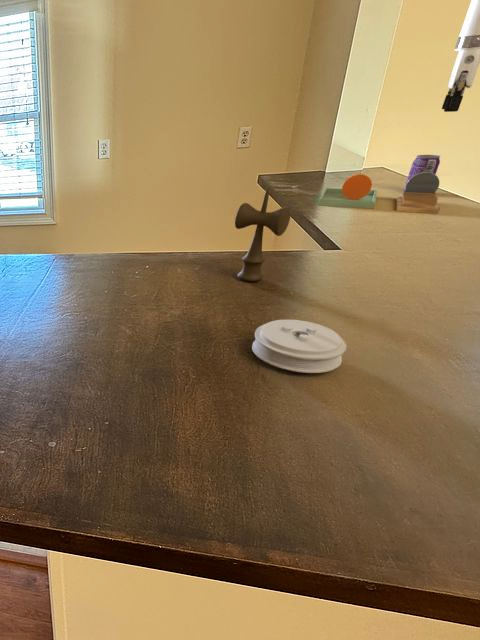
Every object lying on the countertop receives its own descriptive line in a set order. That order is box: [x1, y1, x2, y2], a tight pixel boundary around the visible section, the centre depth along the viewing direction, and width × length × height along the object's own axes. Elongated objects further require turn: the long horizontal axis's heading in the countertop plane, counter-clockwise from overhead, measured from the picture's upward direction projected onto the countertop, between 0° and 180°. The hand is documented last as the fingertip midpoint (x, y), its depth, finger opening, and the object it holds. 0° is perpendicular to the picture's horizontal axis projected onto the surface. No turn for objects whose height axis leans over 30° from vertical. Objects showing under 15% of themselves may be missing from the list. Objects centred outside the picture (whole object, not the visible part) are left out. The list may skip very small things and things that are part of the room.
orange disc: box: [341, 173, 373, 200], centre depth 160 cm, size 1×8×8 cm, turn 55°
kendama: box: [234, 187, 292, 282], centre depth 103 cm, size 6×10×20 cm, turn 43°
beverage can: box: [403, 154, 441, 192], centre depth 163 cm, size 7×7×12 cm
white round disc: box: [251, 319, 347, 374], centre depth 77 cm, size 13×13×5 cm
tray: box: [317, 187, 378, 209], centre depth 162 cm, size 19×15×2 cm
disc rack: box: [395, 191, 440, 214], centre depth 150 cm, size 16×10×4 cm, turn 145°
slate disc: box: [405, 172, 440, 193], centre depth 151 cm, size 1×8×8 cm, turn 55°
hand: (449, 110), depth 146 cm, fingers open, 9 cm apart
